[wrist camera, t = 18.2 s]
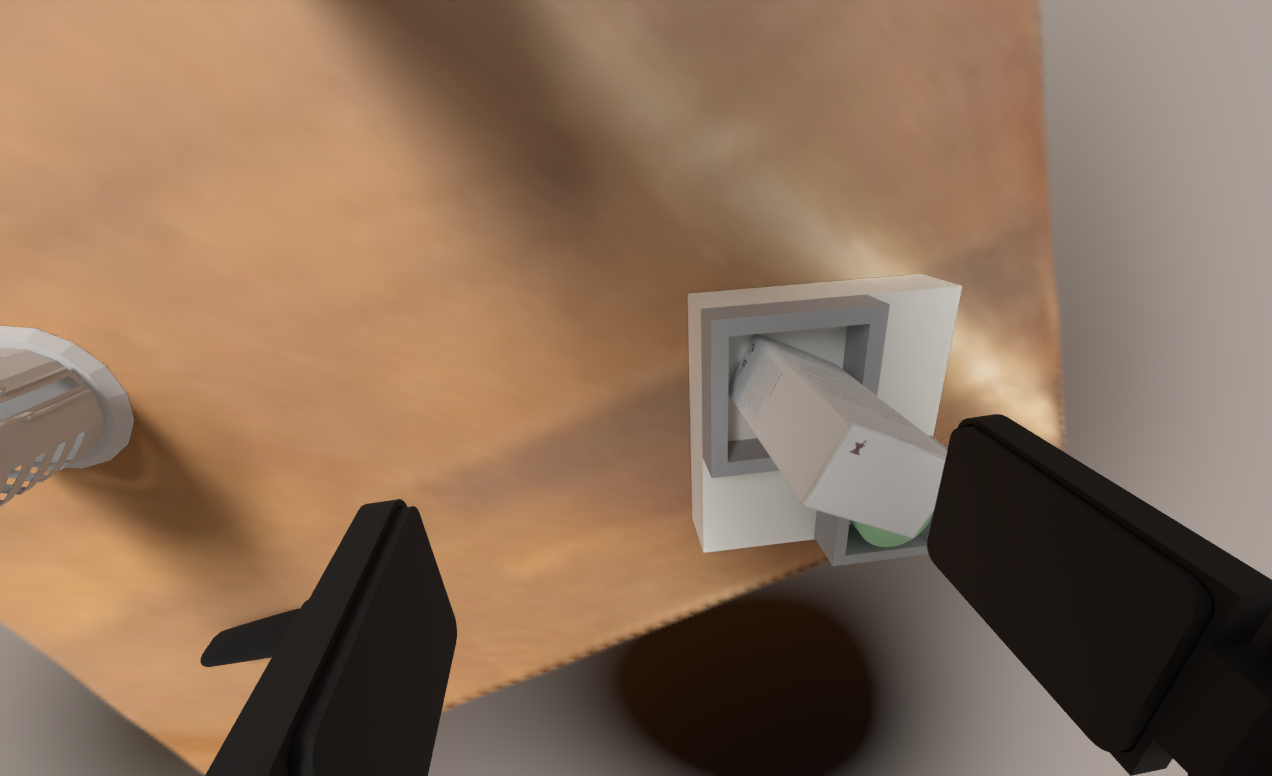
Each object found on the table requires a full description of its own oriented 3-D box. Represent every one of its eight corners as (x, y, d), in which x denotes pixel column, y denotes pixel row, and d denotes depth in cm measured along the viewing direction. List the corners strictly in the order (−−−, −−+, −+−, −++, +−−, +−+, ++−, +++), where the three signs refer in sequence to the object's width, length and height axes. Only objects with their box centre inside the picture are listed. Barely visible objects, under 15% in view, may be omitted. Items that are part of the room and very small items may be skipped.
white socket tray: (687, 293, 33) (713, 323, 27) (921, 273, 34) (1000, 297, 28) (692, 518, 40) (713, 583, 34) (885, 495, 42) (941, 555, 35)
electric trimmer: (215, 613, 40) (186, 648, 37) (413, 582, 41) (400, 614, 38) (236, 647, 42) (210, 683, 39) (427, 616, 42) (415, 650, 39)
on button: (843, 465, 34) (863, 488, 32) (913, 457, 35) (939, 479, 32) (836, 525, 36) (854, 551, 34) (903, 517, 37) (926, 542, 34)
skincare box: (722, 391, 32) (798, 507, 21) (754, 329, 30) (852, 419, 19) (804, 420, 33) (914, 543, 22) (837, 363, 32) (973, 464, 21)
